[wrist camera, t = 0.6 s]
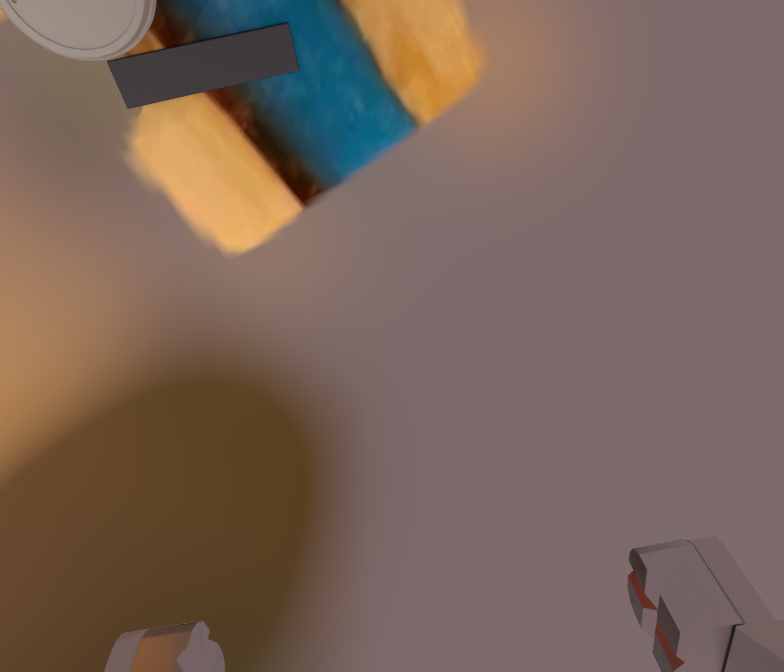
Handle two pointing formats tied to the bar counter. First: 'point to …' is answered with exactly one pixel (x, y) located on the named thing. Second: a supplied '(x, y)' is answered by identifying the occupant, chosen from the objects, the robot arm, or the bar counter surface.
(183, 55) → the gutter strips
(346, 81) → the bar counter surface
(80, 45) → the coffee cup
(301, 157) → the bar counter surface
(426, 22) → the bar counter surface
